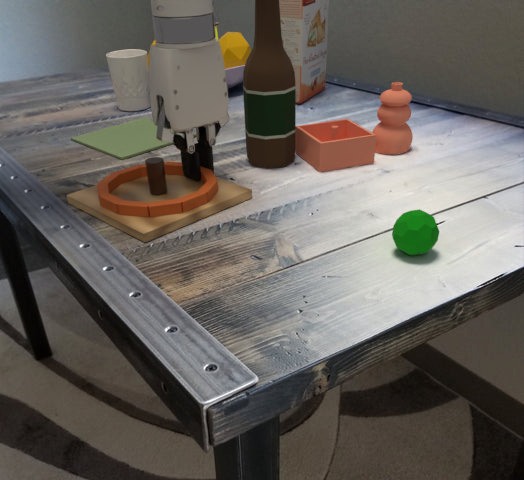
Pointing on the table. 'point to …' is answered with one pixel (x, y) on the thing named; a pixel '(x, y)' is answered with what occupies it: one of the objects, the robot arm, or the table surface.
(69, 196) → the post stand
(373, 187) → the table surface
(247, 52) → the fruit bowl
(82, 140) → the mat
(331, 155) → the pottery
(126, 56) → the white cup
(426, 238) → the polyhedron
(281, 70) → the beer bottle
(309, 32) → the cracker box
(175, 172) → the ring
